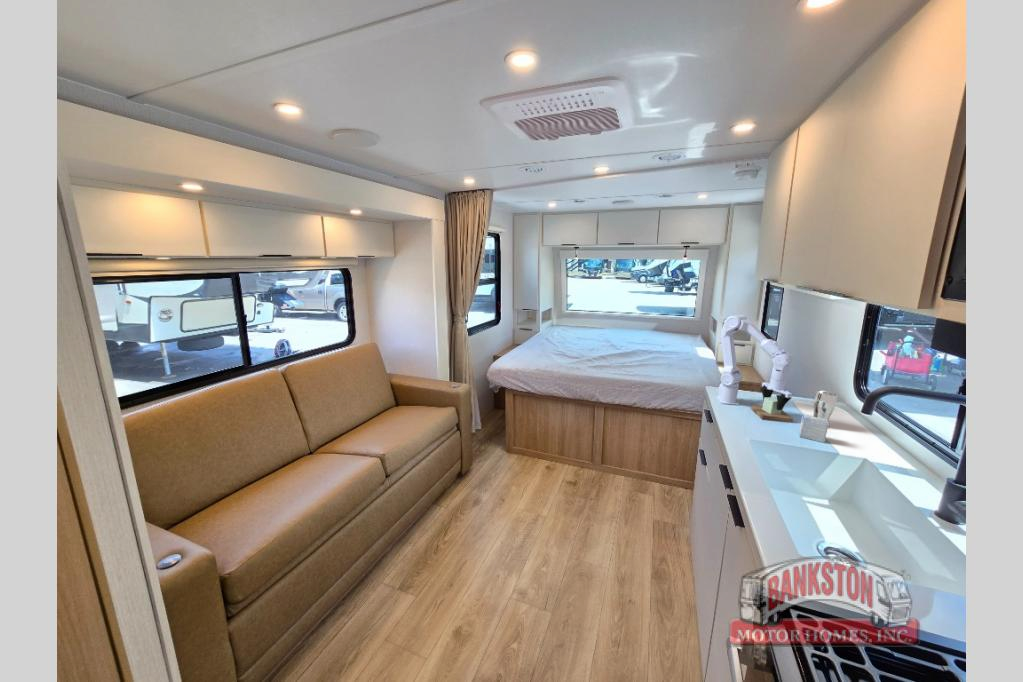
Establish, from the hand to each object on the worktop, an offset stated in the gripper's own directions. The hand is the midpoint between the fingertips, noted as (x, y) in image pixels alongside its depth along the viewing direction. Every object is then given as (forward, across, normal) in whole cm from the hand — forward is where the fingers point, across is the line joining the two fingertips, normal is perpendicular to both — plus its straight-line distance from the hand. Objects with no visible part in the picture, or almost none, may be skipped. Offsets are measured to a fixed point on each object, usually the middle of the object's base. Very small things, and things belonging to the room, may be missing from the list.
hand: (772, 406), depth 164 cm
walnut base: (+5, 0, 0) cm, 5 cm away
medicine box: (+5, +21, 0) cm, 21 cm away
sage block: (+3, 0, 0) cm, 3 cm away
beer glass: (+5, +10, +15) cm, 18 cm away
